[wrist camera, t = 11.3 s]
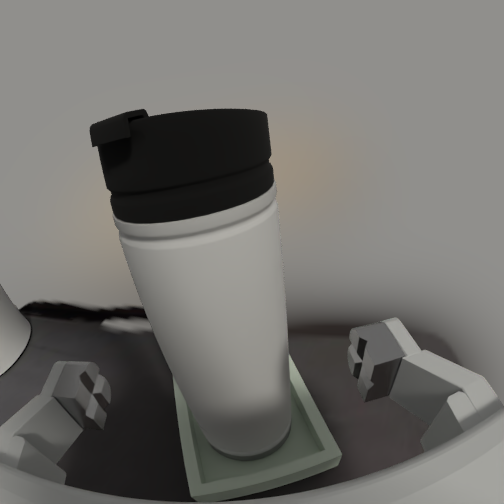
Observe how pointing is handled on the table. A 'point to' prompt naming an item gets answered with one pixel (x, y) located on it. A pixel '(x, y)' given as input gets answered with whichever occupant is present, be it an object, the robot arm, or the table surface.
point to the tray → (262, 470)
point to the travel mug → (207, 263)
